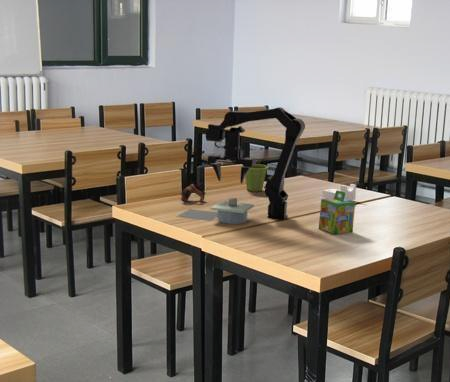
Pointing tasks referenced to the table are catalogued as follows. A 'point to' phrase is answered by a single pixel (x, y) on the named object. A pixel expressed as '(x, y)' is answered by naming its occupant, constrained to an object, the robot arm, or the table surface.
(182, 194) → the brown arch
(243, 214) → the bowl
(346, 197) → the bracket
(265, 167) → the plant pot
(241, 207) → the lid
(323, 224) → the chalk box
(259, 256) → the table surface
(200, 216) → the mat
